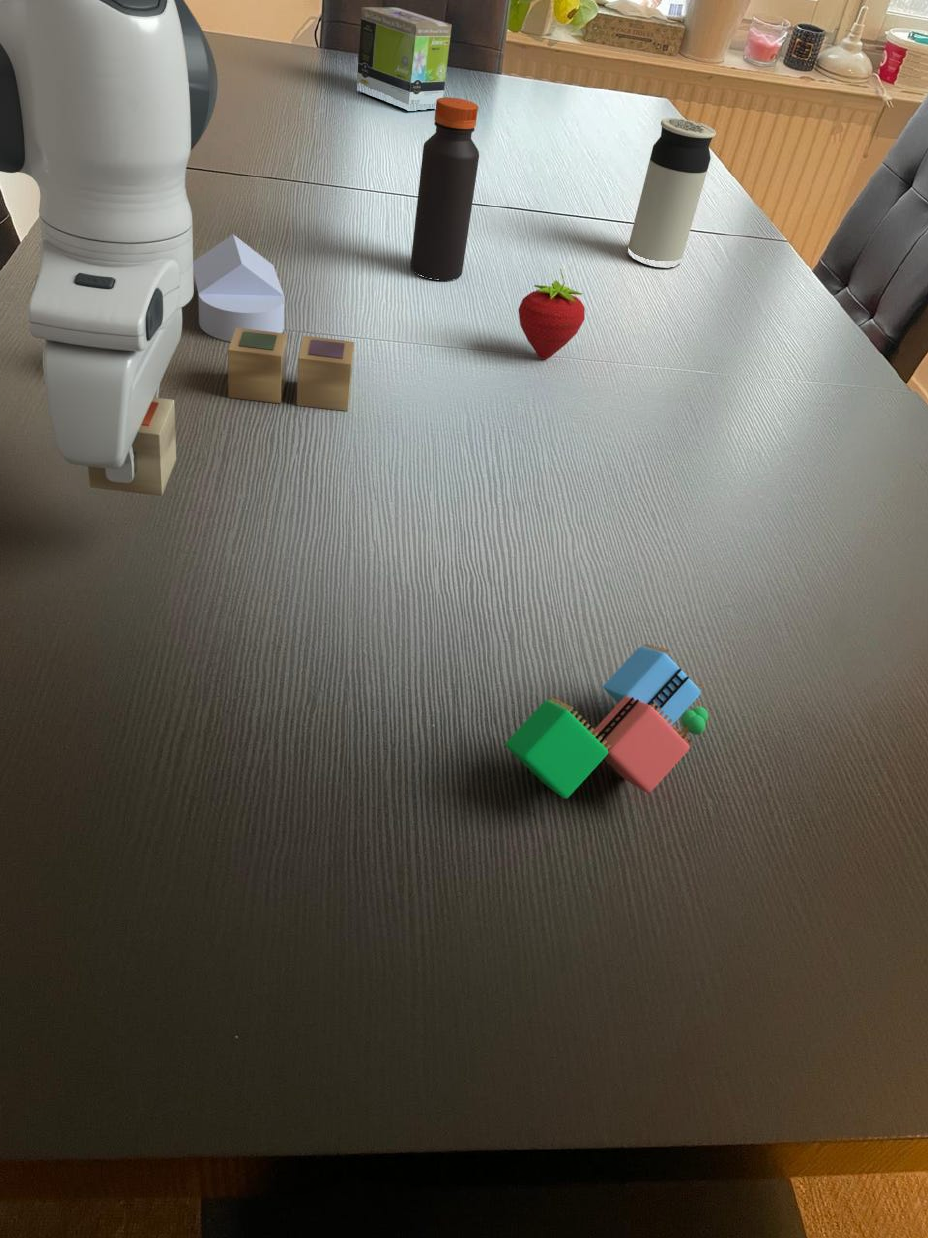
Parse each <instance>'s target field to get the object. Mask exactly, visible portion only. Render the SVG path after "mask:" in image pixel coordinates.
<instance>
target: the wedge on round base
mask: <svg viewBox="0 0 928 1238" xmlns="http://www.w3.org/2000/svg"><path fill="white" fill-rule="evenodd" d="M193 276H194V279H195V280H194V281H195V284H196V290H197V294H198V296H197V297H198V325H199V327H200V329H201V330H202V331H203V332H204V333H206V334H207V335H209V336H210V337H213V338H215V339H218V340H221V341H225V342H229V343H230V342H231V339H232V336H233V334H234V331H235V328H244V329H253V330H261V331H269V332H277V333H284V330H285V304H286V298H285V294H284V291H283V288H282V285H281V283H280V280H279V277H278V275H277V271H276V269H275V266H274V264H272V263H271V262H270V261H269V260H267V259H266V258H265V257H263V256H262V255H261V254H259V253H258V252H257V251H256V250H254V249H253V248H252V247H250V246H249V245H248V244H246V243H245V242H244V241H243V240H242V239H240V238H239V237H237V236H236V235H235V234H234V233H232V234H231V235H230V236H228V237H227V238H224V240H222V241H221V242H219V243H218V244H217V245H215V246H213V247H212V248H211V249H209V250H208V251H207V252H205V253H204V254H202V255H201V256H200V257H199V256H198V258H196V259H194V260H193Z"/></svg>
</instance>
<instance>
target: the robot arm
mask: <svg viewBox="0 0 928 1238" xmlns="http://www.w3.org/2000/svg"><path fill="white" fill-rule="evenodd" d="M218 83H219V82H218V71H217V65H216V62H215V58H214V54H213V51H212V49H211V46H210V44H209V41H208V38H206V35H205V32H204V30H203V29H202V27H201V26H200V23H199V22H198V20H197V18H196V17H195V15H194V13H193V12H192V10H191V9H190V7H189V6H188V4H187V2H186V1H185V0H0V172H1V173H5V174H16V173H21V174H24V175H27V176H29V177H31V178H32V179H33V180H34V181H35V182H36V184H37V186H38V190H39V207H38V215H39V223H40V232H41V242H40V245H39V253H40V259H39V268H38V273H37V275H36V278H35V283H34V286H33V287H32V292H31V294H30V298H29V300H28V304H27V319H28V326H29V332H30V335H31V336H32V337H33V338H36V339H41V340H44V343H43V349H42V373H43V380H44V387H45V393H46V399H47V405H48V411H49V416H50V421H51V427H52V432H53V437H54V440H55V441H54V442H55V444H56V448H57V450H58V452H59V454H60V455H61V456H62V458H63V459H64V460H65V462H67V463H69V464H72V465H75V466H82V467H88V466H90V467H99V468H105V470H106V477H107V478H108V480H110V481H112V482H119V483H130V482H132V480H133V478H134V476H135V473H136V471H137V456H136V452H135V451H133V449H132V444H133V441H134V439H135V437H136V435H137V433H138V430H139V428H140V426H141V424H142V422H143V419H144V417H145V415H146V413H147V411H148V409H149V406H150V404H151V402H152V400H153V398H154V397H155V398H159V393H160V388H161V387H160V386H161V382H162V380H163V378H164V375H165V373H166V371H167V369H168V367H169V365H170V362H171V361H172V358H173V356H174V354H175V352H176V349H177V348H178V345H179V343H180V341H181V336H182V332H183V331H182V330H183V308H184V307H185V306H186V305H188V304H189V303H190V302H191V301H192V299H193V297H194V291H195V289H194V288H195V287H194V285H195V284H194V281H195V280H194V279H195V278H194V270H193V262H194V235H193V233H194V231H193V229H194V227H193V224H194V223H193V212H192V208H191V204H190V201H189V198H188V195H187V189H186V173H187V168H188V163H189V159H190V155H191V152H192V151H193V149H194V148H195V147H196V146H197V144H198V143H199V141H200V140H201V139H202V137H203V135H204V134H205V132H206V130H207V127H208V126H209V124H210V122H211V119H212V116H213V113H214V110H215V108H216V102H217V98H218V97H217V96H218V87H219V84H218Z"/></svg>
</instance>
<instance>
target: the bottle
mask: <svg viewBox="0 0 928 1238" xmlns="http://www.w3.org/2000/svg"><path fill="white" fill-rule="evenodd" d="M478 111H479V106H478V105H477V103H475V102H473V101H470V100H468V99H463V98H459V97H451V96H450V97H449V96H447V97H446V96H443V98H439V99H437V101H436V110H434V126H435V133H433V134H432V135H431V136H430V137H429V138H428V139H427V140H426V141H425V142H424V144H423V148H422V157H421V166H420V174H419V182H418V183H419V184H418V192H417V201H416V210H415V219H414V227H413V236H412V237H413V239H412V248H411V255H410V256H411V257H410V269H411V271H412V272H413V271H414V272H416V273H417V274H419V275H422V276H424V277H427V278H432V279H439V280H451V281H454V280H453V279H455V280H457V279H459V278H460V277H461V276H462V275H463V270H464V264H465V257H466V251H467V249H466V248H467V243H468V237H469V229H470V222H471V215H472V209H473V201H474V195H475V189H476V188H475V187H476V180H477V174H478V167H479V160H480V152H479V149H478V148H477V145H476V144H475V142H474V141H473V140H472V133H474V132H475V128H476V126H477V125H476V124H477V118H478ZM414 272H413V273H414ZM416 273H415V274H416ZM417 274H416V275H417ZM419 275H418V276H419ZM456 278H457V279H456Z"/></svg>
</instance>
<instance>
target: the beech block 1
mask: <svg viewBox="0 0 928 1238" xmlns="http://www.w3.org/2000/svg"><path fill="white" fill-rule="evenodd" d="M287 359H288V333H285V332H283V333H277V332H269V331H261V330H253V329H244V328H235V331H234V334H233V336H232V339H231V342H229V344H228V348H227V397H228V398H229V399H238V400H247V401H248V400H249V401H256V402H262V403H263V402H265V403H273V404H281V402H282V398H283V394H284V391H285V387H286V381H287V365H288V364H287V363H288V360H287Z"/></svg>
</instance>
